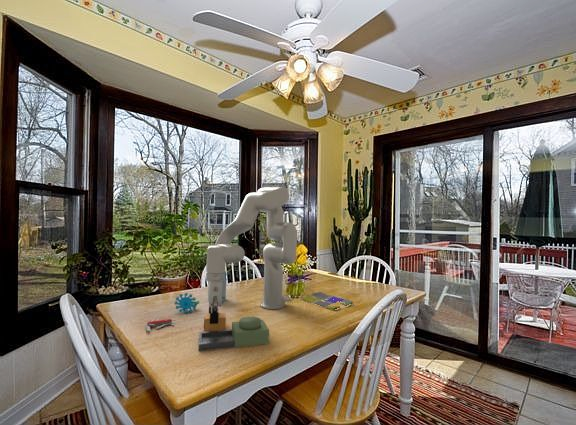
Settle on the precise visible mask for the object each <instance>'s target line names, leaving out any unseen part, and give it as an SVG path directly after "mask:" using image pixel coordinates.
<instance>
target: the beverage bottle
mask: <svg viewBox="0 0 576 425" xmlns="http://www.w3.org/2000/svg"><path fill="white" fill-rule="evenodd" d="M227 280H228V279H227V272H226V270H225V280H224V281H222V302H223V301H225V300H226V298H227V294H226V292H227Z"/></svg>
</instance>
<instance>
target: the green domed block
mask: <svg viewBox="0 0 576 425" xmlns="http://www.w3.org/2000/svg"><path fill="white" fill-rule="evenodd" d="M231 330H232V336H233V339H234V340H235V347H234V348H240V347H250V346H260V345H269V344H270V343H269V342H270V329H269V327H268V325H267V324H266V322H265V321H264V319H261V318H259V317H257V316H244V317H242V318H240V319H239V321H232V322H231Z"/></svg>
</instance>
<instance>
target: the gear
mask: <svg viewBox="0 0 576 425" xmlns="http://www.w3.org/2000/svg"><path fill="white" fill-rule="evenodd" d="M199 303H200V301H199V300H197V301H196V297H193V294H192V293H190V294H189V295H188V293H187V292H185V293H184V295H183V294H182V293H181V294H179V296H177V297H176V298H175V302H174V305H175V309H176V310H178V311H179V313H182V312H183V313H184V314H188V312H189V313H192V312H193V311H194V310H195V309H196V308H197V305H199ZM188 310H189V311H188Z"/></svg>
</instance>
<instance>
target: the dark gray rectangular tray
mask: <svg viewBox="0 0 576 425" xmlns="http://www.w3.org/2000/svg"><path fill="white" fill-rule="evenodd" d="M197 337H198V340H197V341H198V352H202V351H212V350H214V351H215V350H221V349H229V348H230V349H231V348H236V347H235V340H234V339H233V336H232V329H225V330H214V331H200V332H198V336H197Z"/></svg>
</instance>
